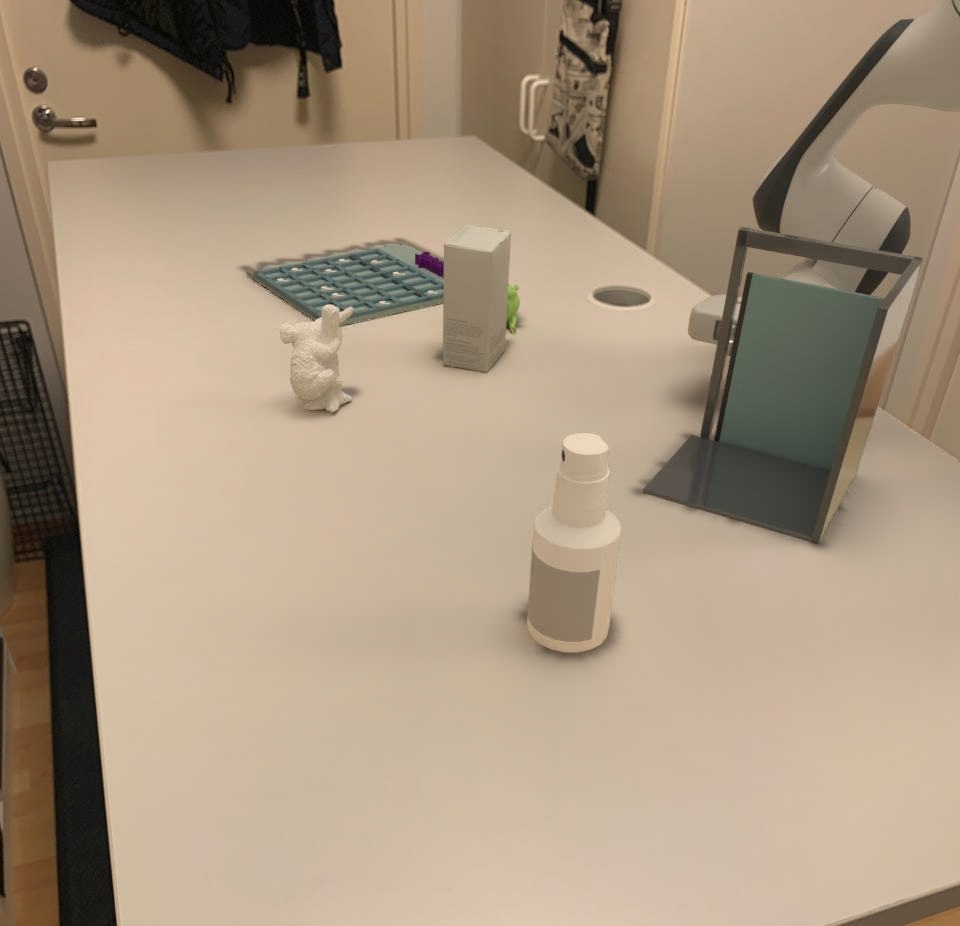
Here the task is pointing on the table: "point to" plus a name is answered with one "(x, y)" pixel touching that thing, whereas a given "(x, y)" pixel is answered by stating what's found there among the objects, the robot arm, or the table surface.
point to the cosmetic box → (475, 297)
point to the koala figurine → (317, 359)
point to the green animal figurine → (512, 306)
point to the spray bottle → (575, 552)
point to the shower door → (794, 368)
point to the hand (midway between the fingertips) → (759, 356)
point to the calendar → (359, 282)
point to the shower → (768, 479)
